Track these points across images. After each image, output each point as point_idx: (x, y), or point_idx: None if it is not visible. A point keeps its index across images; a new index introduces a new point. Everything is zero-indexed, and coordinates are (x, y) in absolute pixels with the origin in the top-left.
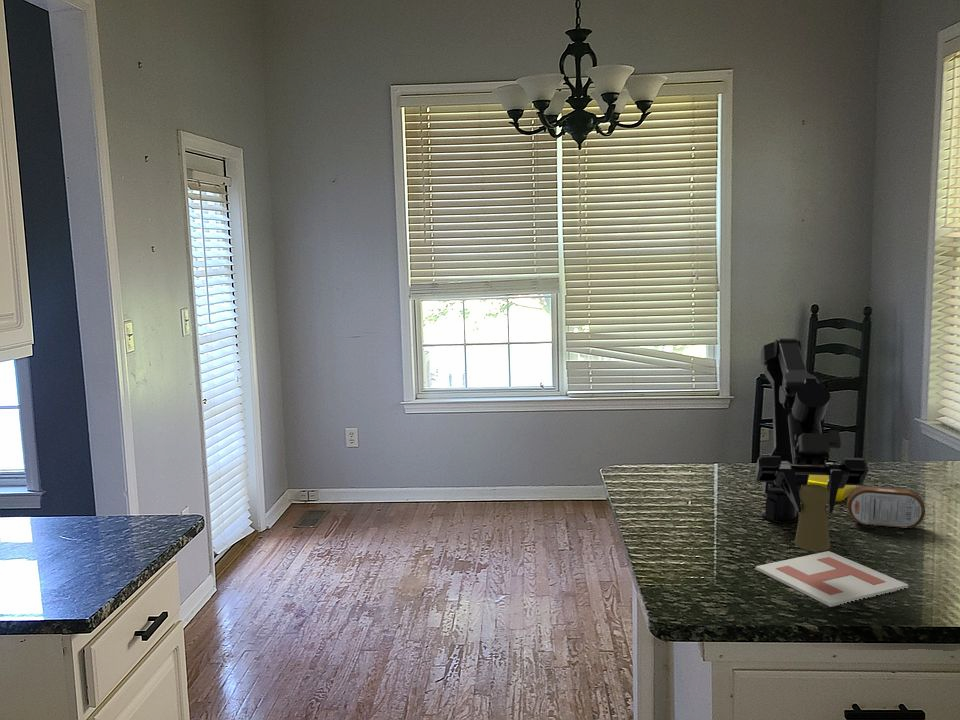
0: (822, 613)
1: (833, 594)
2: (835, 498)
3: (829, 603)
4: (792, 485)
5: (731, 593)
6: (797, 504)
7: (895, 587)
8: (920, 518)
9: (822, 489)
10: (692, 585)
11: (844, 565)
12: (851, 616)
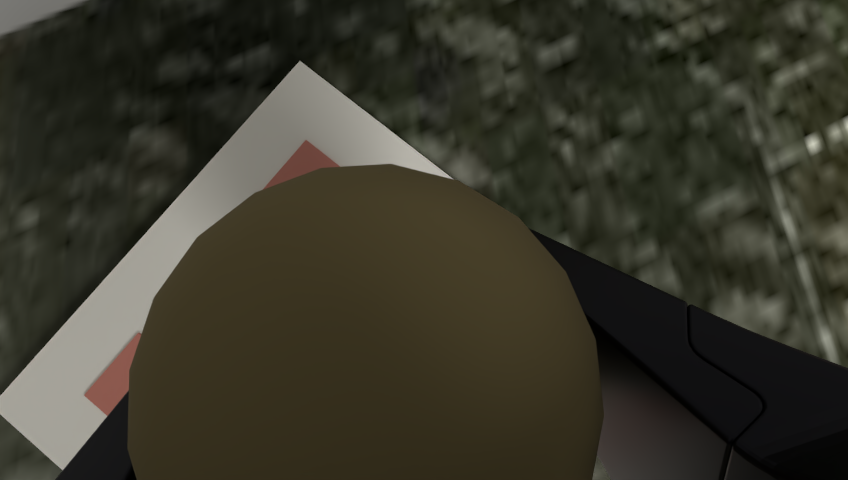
0: (325, 2)
1: (295, 152)
2: (86, 441)
3: (304, 66)
4: (756, 367)
5: (661, 36)
6: (548, 240)
7: (49, 345)
8: None
9: (206, 310)
10: (816, 47)
11: None
12: (227, 20)
